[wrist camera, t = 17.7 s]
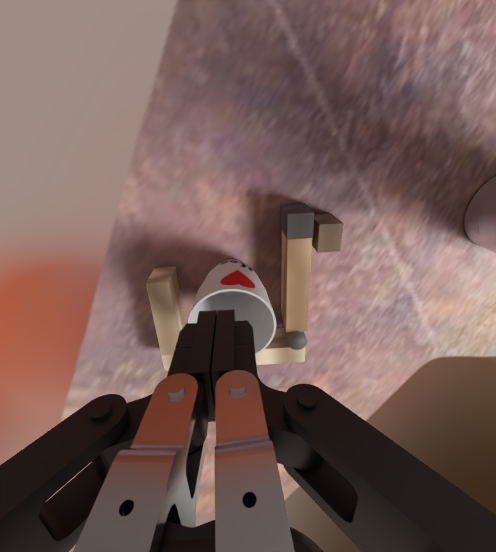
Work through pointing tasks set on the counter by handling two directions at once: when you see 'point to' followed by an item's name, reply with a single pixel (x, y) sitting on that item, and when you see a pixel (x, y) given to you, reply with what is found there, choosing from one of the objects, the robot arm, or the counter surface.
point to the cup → (237, 299)
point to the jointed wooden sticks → (170, 309)
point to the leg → (295, 270)
